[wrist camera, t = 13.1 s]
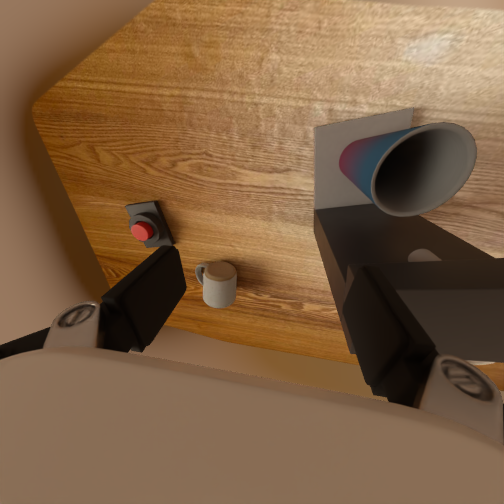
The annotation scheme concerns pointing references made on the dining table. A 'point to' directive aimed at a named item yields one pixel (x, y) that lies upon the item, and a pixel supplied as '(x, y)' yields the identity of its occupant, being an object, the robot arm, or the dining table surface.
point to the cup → (411, 167)
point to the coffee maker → (405, 252)
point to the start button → (142, 231)
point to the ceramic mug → (218, 283)
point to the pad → (151, 222)
